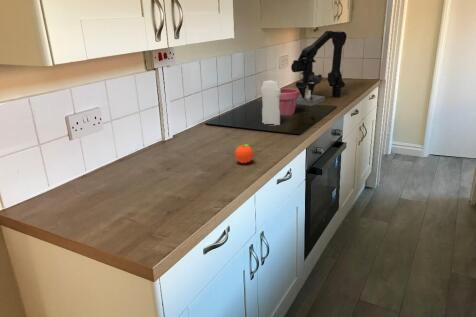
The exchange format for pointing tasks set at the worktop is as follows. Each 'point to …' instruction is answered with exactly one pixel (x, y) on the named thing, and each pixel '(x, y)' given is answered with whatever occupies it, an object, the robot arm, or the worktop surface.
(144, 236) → the worktop surface
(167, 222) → the worktop surface
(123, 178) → the worktop surface
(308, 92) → the peg
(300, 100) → the hole plate
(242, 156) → the clementine
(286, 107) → the plant pot
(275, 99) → the tall pale column
